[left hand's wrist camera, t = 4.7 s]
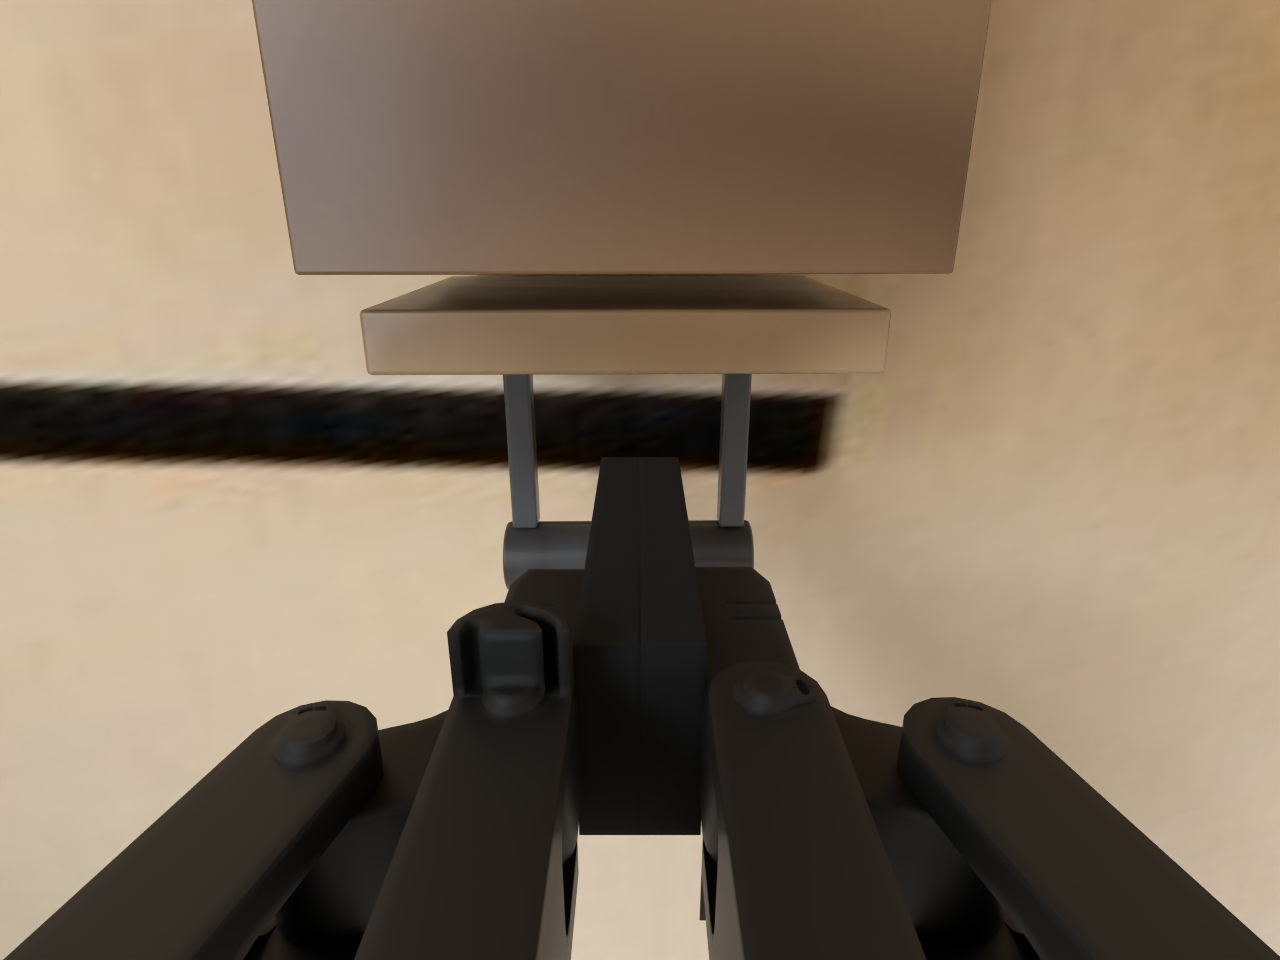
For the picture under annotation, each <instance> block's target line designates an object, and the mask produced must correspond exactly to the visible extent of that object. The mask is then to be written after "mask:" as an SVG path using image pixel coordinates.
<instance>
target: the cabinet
mask: <svg viewBox="0 0 1280 960" xmlns="http://www.w3.org/2000/svg"><path fill="white" fill-rule="evenodd" d="M252 3H253V9H254V16H255V22H256V28H257V35H258V41H259V48H260V54H261V60H262V67H263V73H264V79H265V86H266V92H267V98H268V105H269V111H270V117H271V124H272V130H273V136H274V143H275V149H276V155H277V162H278V168H279V174H280V181H281V187H282V193H283V200H284V206H285V212H286V219H287V225H288V231H289V238H290V244H291V250H292V257H293V263H294V269H295V273H296V274H299V275H454V274H949V273H952V272H953V268H954V261H955V254H956V247H957V240H958V233H959V226H960V219H961V212H962V205H963V198H964V190H965V183H966V176H967V169H968V162H969V155H970V148H971V141H972V134H973V127H974V120H975V113H976V106H977V99H978V92H979V84H980V77H981V70H982V63H983V56H984V49H985V42H986V35H987V28H988V21H989V14H990V7H991V0H252Z"/></svg>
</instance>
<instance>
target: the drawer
mask: <svg viewBox="0 0 1280 960" xmlns="http://www.w3.org/2000/svg"><path fill="white" fill-rule="evenodd" d="M890 316H891V312H890V310H889V309H887V308H884V307H882V306H879V305H877V304H874V303H871V302H869V301H866V300H864V299H861V298H858V297H856V296H853V295H850V294H848V293H845V292H843V291H840V290H837V289H835V288H832V287H829V286H827V285H824V284H822V283H819V282H816V281H814V280H811V279H809V278H806V277H803V276H550V277H450V278H447V279H445V280H442V281H439V282H437V283H434V284H431V285H429V286H426V287H423V288H421V289H418V290H415V291H413V292H410V293H407V294H404V295H402V296H399V297H396V298H394V299H391V300H388V301H386V302H383V303H380V304H378V305H375V306H372V307H370V308H367V309H364V310H362V311H361V312H360V320H361V328H362V335H363V343H364V351H365V358H366V366H367V371H368V373H369V374H371V375H503V382H504V397H505V413H506V428H507V443H508V458H509V473H510V488H511V503H512V518H513V522H509V523H508V525H507V527H506V530H505V536H504V545H503V571H504V579H505V584H506V587H507V589H509V588H510V585H511V584H512V583H513V582H514V581H516V580H517V579H518V578H519V577H520V576H522V575H523V574H524V573H525V572H526V571H527V570H529V569H584V568H585V562H586V555H587V549H588V542H589V536H590V529H591V523H592V521H539V519H540V510H539V491H538V471H537V452H536V433H535V414H534V395H533V376H532V374H723V376H722V402H721V427H720V453H719V479H718V505H717V518H718V520H704V521H688V523H689V529H690V536H691V542H692V549H693V555H694V562H695V567H752V568H753V569H754V547H753V536H752V530H751V526H750V524H749V522H748V521H746V520H744V510H745V491H746V472H747V453H748V434H749V414H750V395H751V376H752V374H801V373H881V372H883V371H884V368H885V359H886V350H887V342H888V333H889V324H890Z"/></svg>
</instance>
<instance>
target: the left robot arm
mask: <svg viewBox="0 0 1280 960" xmlns="http://www.w3.org/2000/svg"><path fill="white" fill-rule="evenodd" d="M447 636H448V646H449V655H450V665H451V674H452V684H453V693H454V697H453V699H452V702H451V705H450V707H449V710H447V711H445V712H443V713H441V714H438V715H436V716H434V717H431V718H428V719H425V720H421V721H418V722H414V723H410V724H405V725H401V726H396V727H391V728H387V729H382V730H378V727H377V720H376V718H375V717H374V716H373V714H372V713H371V712H370V711H369V710H368V709H367V708H366V707H364V706H361V705H358V704H355V703H352V702H350V701H321V702H315V703H310V704H306V705H302V706H299V707H296V708H294V709H292V710H289V711H287V712H284V713H282V714H280V715H277V716H275V717H274V718H273V719H271V720H270V721H268V722H267V723H265V724H264V725H262V726H261V727H260V728H258V729H257V730H255V731H254V732H253V733H252V734H251V735H250V736H249V737H248V738H247V739H245V740H244V741H243V742H242V743H241V744H240V745H239V746H238V747H237V748H236V749H234V750H233V751H232V752H231V753H230V754H229V755H228V756H227V757H226V758H225V759H224V760H222V761H221V762H220V763H219V764H218V765H217V766H216V767H215V768H214V769H213V770H211V771H210V772H209V773H208V774H207V775H206V776H205V777H204V778H203V779H202V780H200V781H199V782H198V783H197V784H196V785H195V786H194V787H193V788H192V789H191V790H189V791H188V792H187V793H186V794H185V795H184V796H183V797H182V798H181V799H180V800H178V801H177V802H176V803H175V804H174V805H173V806H172V807H171V808H170V809H169V810H167V811H166V812H165V813H164V814H163V815H162V816H161V817H160V818H159V819H158V820H156V821H155V822H154V823H153V824H152V825H151V826H150V827H149V828H148V829H147V830H145V831H144V832H143V833H142V834H141V835H140V836H139V837H138V838H137V839H136V840H134V841H133V842H132V843H131V844H130V845H129V846H128V847H127V848H126V849H125V850H123V851H122V852H121V853H120V854H119V855H118V856H117V857H116V858H115V859H114V860H112V861H111V862H110V863H109V864H108V865H107V866H106V867H105V868H104V869H103V870H101V871H100V872H99V873H98V874H97V875H96V876H95V877H94V878H93V879H92V880H90V881H89V882H88V883H87V884H86V885H85V886H84V887H83V888H82V889H81V890H79V891H78V892H77V893H76V894H75V895H74V896H73V897H72V898H71V899H70V900H68V901H67V902H66V903H65V904H64V905H63V906H62V907H61V908H60V909H59V910H57V911H56V912H55V913H54V914H53V915H52V916H51V917H50V918H49V919H48V920H47V921H45V922H44V923H43V924H42V925H41V926H40V927H39V928H38V929H37V930H36V931H34V932H33V933H32V934H31V935H30V936H29V937H28V938H27V939H26V940H25V941H23V942H22V943H21V944H20V945H19V946H18V947H17V948H16V949H15V950H14V951H12V952H11V953H10V954H9V955H8V956H7V957H6V958H5V959H4V960H571V950H572V939H573V927H574V916H575V905H576V894H577V883H578V849H577V836H578V826H579V833H580V835H700V833H701V822H702V832H703V849H702V875H701V901H700V920H706V926H707V938H708V949H709V960H1280V956H1279V955H1277V954H1276V953H1275V952H1274V951H1273V950H1272V949H1271V948H1270V947H1269V946H1267V945H1266V944H1265V943H1264V942H1263V941H1262V940H1261V939H1260V938H1259V937H1257V936H1256V935H1255V934H1254V933H1253V932H1252V931H1251V930H1250V929H1249V928H1247V927H1246V926H1245V925H1244V924H1243V923H1242V922H1241V921H1240V920H1239V919H1238V918H1236V917H1235V916H1234V915H1233V914H1232V913H1231V912H1230V911H1229V910H1228V909H1226V908H1225V907H1224V906H1223V905H1222V904H1221V903H1220V902H1219V901H1218V900H1216V899H1215V898H1214V897H1213V896H1212V895H1211V894H1210V893H1209V892H1208V891H1206V890H1205V889H1204V888H1203V887H1202V886H1201V885H1200V884H1199V883H1198V882H1197V881H1195V880H1194V879H1193V878H1192V877H1191V876H1190V875H1189V874H1188V873H1187V872H1185V871H1184V870H1183V869H1182V868H1181V867H1180V866H1179V865H1178V864H1177V863H1175V862H1174V861H1173V860H1172V859H1171V858H1170V857H1169V856H1168V855H1167V854H1165V853H1164V852H1163V851H1162V850H1161V849H1160V848H1159V847H1158V846H1157V845H1156V844H1154V843H1153V842H1152V841H1151V840H1150V839H1149V838H1148V837H1147V836H1146V835H1144V834H1143V833H1142V832H1141V831H1140V830H1139V829H1138V828H1137V827H1136V826H1134V825H1133V824H1132V823H1131V822H1130V821H1129V820H1128V819H1127V818H1126V817H1124V816H1123V815H1122V814H1121V813H1120V812H1119V811H1118V810H1117V809H1116V808H1115V807H1113V806H1112V805H1111V804H1110V803H1109V802H1108V801H1107V800H1106V799H1105V798H1103V797H1102V796H1101V795H1100V794H1099V793H1098V792H1097V791H1096V790H1095V789H1093V788H1092V787H1091V786H1090V785H1089V784H1088V783H1087V782H1086V781H1085V780H1083V779H1082V778H1081V777H1080V776H1079V775H1078V774H1077V773H1076V772H1075V771H1074V770H1072V769H1071V768H1070V767H1069V766H1068V765H1067V764H1066V763H1065V762H1064V761H1062V760H1061V759H1060V758H1059V757H1058V756H1057V755H1056V754H1055V753H1054V752H1052V751H1051V750H1050V749H1049V748H1048V747H1047V746H1046V745H1045V744H1044V743H1042V742H1041V741H1040V740H1039V739H1038V738H1037V737H1036V736H1035V735H1034V734H1033V733H1031V732H1030V731H1029V730H1028V729H1027V728H1026V727H1025V726H1023V725H1022V724H1020V723H1019V722H1017V721H1016V720H1015V719H1013V718H1012V717H1010V716H1009V715H1007V714H1006V713H1004V712H1002V711H1000V710H997V709H995V708H992V707H990V706H988V705H985V704H983V703H980V702H976V701H972V700H966V699H961V698H956V697H947V698H930V699H927V700H924V701H922V702H919V703H916V704H914V705H913V706H912V707H911V708H910V709H909V710H908V712H907V713H906V714H905V715H904V720H903V727H899V726H894V725H890V724H885V723H880V722H876V721H871V720H866V719H863V718H859V717H856V716H853V715H849V714H846V713H844V712H842V711H840V710H838V709H836V708H833V707H831V706H830V703H829V701H828V698H827V696H826V694H825V692H824V691H823V690H822V688H821V687H820V685H819V684H818V682H817V681H815V680H814V679H813V678H811V677H810V676H808V675H807V674H805V673H804V672H802V671H801V670H800V669H799V666H798V663H797V660H796V657H795V654H794V651H793V648H792V646H791V643H790V640H789V637H788V634H787V631H786V628H785V625H784V622H783V620H781V614H780V611H779V608H778V605H777V604H776V599H775V597H774V594H773V591H772V588H771V585H770V582H769V581H767V580H766V579H765V578H764V577H763V576H761V575H760V574H759V573H758V572H757V571H756V570H754V569H753V568H752V567H695V562H694V555H693V549H692V542H691V536H690V529H689V523H688V516H687V510H686V503H685V497H684V491H683V484H682V478H681V471H680V465H679V458H678V457H602V458H601V465H600V471H599V478H598V484H597V491H596V497H595V503H594V510H593V516H592V523H591V529H590V536H589V542H588V549H587V555H586V562H585V568H584V569H529V570H527V571H526V572H525V573H524V574H523V575H522V576H520V577H519V578H518V579H517V580H516V581H514V582H513V583H512V584H511V585H510V588H509V591H508V594H507V597H506V600H505V602H504V603H496V604H492V605H489V606H485V607H482V608H479V609H476V610H473V611H471V612H470V613H468V614H466V615H465V616H463V617H461V618H459V619H458V620H457V621H456V622H455V623H454V624H453V625H452V627H451V628H450V629H449V630H448V632H447Z"/></svg>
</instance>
